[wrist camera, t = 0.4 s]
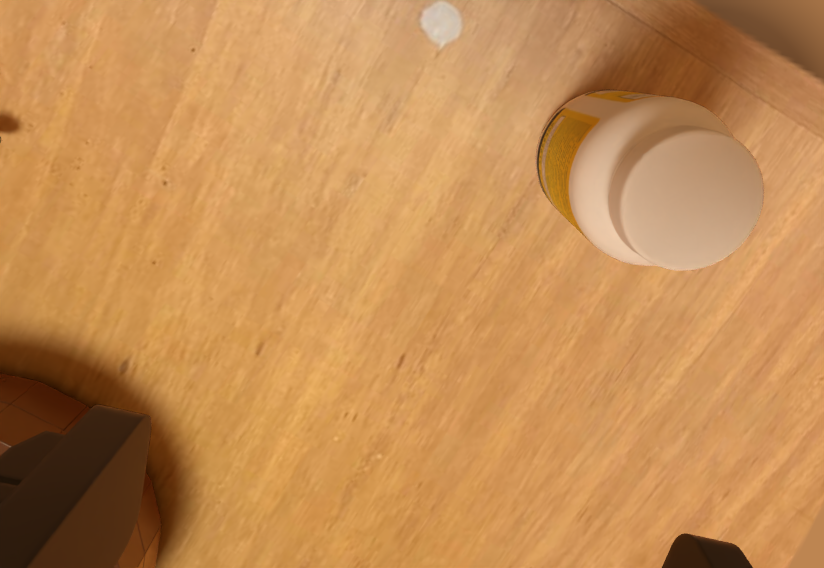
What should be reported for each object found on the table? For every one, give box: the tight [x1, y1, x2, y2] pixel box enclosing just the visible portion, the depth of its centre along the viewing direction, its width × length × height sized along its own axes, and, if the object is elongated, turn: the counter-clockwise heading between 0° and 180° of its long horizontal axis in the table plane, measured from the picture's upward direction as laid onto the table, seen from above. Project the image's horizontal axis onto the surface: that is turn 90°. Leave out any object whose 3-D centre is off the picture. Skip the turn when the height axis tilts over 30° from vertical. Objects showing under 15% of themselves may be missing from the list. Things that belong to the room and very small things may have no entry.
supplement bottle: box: [536, 90, 764, 271], centre depth 23 cm, size 5×5×10 cm
